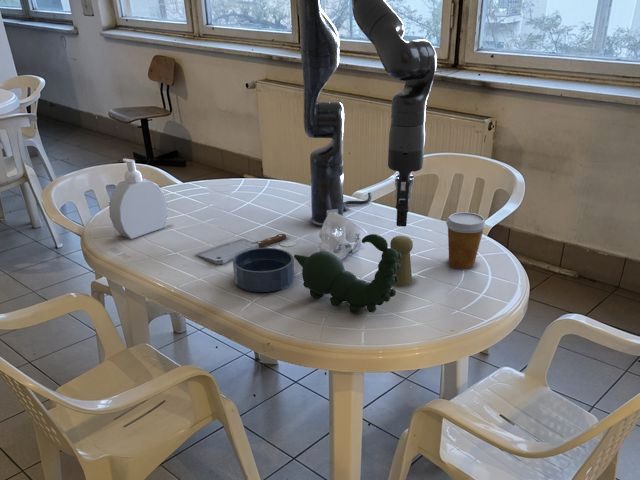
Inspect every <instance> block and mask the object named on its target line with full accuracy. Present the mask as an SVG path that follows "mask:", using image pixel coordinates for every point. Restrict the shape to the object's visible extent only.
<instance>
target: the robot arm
mask: <svg viewBox="0 0 640 480" xmlns="http://www.w3.org/2000/svg"><path fill="white" fill-rule="evenodd" d="M297 6H298V17H299V35H300V39H299V41H300V43H299V44H300V58H301V59H300V60H301V69H302V79H303V80H302V82H303V128H304V132H305V135H306V136H307V137H308V138H310V139H331V140H330V142H329V143H327V144H325V145H324V146H322V147H319V148H317V149H314V150H313V151H311V153H310V155H309V167H310V168H309V169H310V197H311V198H310V200H311V208H310V209H311V224H312V225H314V226H316V227H320V228H322V226H323V223H324V221H325V219H326V217H327V216H328V214H329V213H330V212H333V213H336V214H339V215H342V216H344V212H347V211H348V208H347V205H366V204H368V203H370V202H371V201H372V197H373V194H372V192H370V191H369V192H368V193H367V199H364V200H347V201H344V133H345V109H344V105H343V103H341V102H340V101H318V98H319V96H320V94H321V92H322V90H323V89H324V87H325V86H327V84H328V83H329V81H330V80H331V78H332V77H333V76H334V75H335V73H336V71H337V69H338V68H339V67H338V66H339V64H340V36H339V35H340V34H339V32H338V30H337V28H336V26H335V25H334V23H333V22H332V21H331V19H330V18H329V16H328V15H327V14H326V13H325V12H324V10H323V8H322V6H321V1H320V0H297ZM351 11H352V16H353V19H354V21H355V24H356V25H357V27H358V28H359V29H360V31H361V32H362V33H363V34H364V36H365V37H366V38H367V39H368V40H369V42H370V43H371V44H372V45H373V46H374V48H375V51H376V53H377V55H378V58H379V60H380V62H381V64H382V66H383V67H382V68H383V69H384V71H385V72H386V73H387V75H388V76H390V77H391V78H392V79H394V80H396V81H398V82H404V86H403V88H402V89H401V90H400V91H398V92H397V93H396V94H394V95H393V96H392V99H391V110H390V111H391V113H390V127H389V133H388V151H387V154H388V155H387V167H388V169H389V170H391V171H393V172H398V174H395V179H394V186H395V191H394V192H395V193H394V198H395V200H396V202H395V203H396V204H395V210H396V227H402V228H403V227H406V226H407V225H408V222H407V221H408V213H409V208H410V206H409V204H410V201H411V200H412V191H413V188H414V181H415V175H414V174H413V175H412V172H414V173H415V172H419V171H421V170H422V169H423V167H424V157H425V156H424V155H425V142H426V141H425V140H426V127H425V122H426V109H427V106H426V105H427V100H428V98H429V95H430V92H431V88H432V86H433V82H434V79H435V74H436V70H437V64H438V63H437V61H438V60H437V53H436V50H435V47H434V46H433V44H432V43H431V42H430V41H428V40H426V39H415V40H405V39H403V37H404V35H405V25H404V23H403V21H402V19H401V18H400V17H399V16H398V14H397V13H396V12H395V11H394V10H393V8H392V7H391V6H390V5H389V4H388V2H386V0H351Z"/></svg>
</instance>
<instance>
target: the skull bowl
mask: <svg viewBox="0 0 640 480" xmlns="http://www.w3.org/2000/svg"><path fill="white" fill-rule="evenodd" d="M367 235H369V233H368V232H367V231H366V230H365V229H364V228H363V227H361V226H360V225H358V224H357V223H355V222H354V221H353V220H351V219H350V218H348V217H346V216H344V215H343V216H342V215H339V214H336V213H333V212H330V213H329V214H328V216H327V217H326V219H325V221H324V223H323V226H322V227H321V229H320V231H319V234H318V237H319V238H320V239H321V242H320V243H319V244H318V245H317V248H318V252H320V251H327V252H330V253H333V254H334V255H336V256H337V257H338V258H339V259H340V260H341V261H342V260H344V259H345V258H346V257H347V256H348V254H349V252H352V254H355V253H357V252H358V251H360V250H361V249H362V247H363V246H364V245H365V244H366V242H365V243H362V239H363V238H364V237H365V236H367ZM338 249H339V251H338ZM334 251H338V252H334Z"/></svg>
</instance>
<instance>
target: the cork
mask: <svg viewBox="0 0 640 480" xmlns="http://www.w3.org/2000/svg"><path fill="white" fill-rule="evenodd" d="M413 247H414V244H413V240H412V238H411V237H409V236H407V235H396V236H394V237H392V239H391V240H390V246H389V248H392V249H395V250H396V251H397V252H398V253H400V254H401V258H400V259H398V261H397V262H396V263H399V264H400V268H399V269H398V270H397V271H396V272H395V274H394V275H397V276H398V277H399V280H398V281H397V282H394V283H393V284H392V286H393V287H397V288H398V287H408V286H410V285H411V284H412V283H413V273H412V259H411V251H412V250H413Z"/></svg>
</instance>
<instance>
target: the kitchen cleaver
mask: <svg viewBox="0 0 640 480" xmlns="http://www.w3.org/2000/svg"><path fill="white" fill-rule="evenodd" d="M286 239H287V234H285V233H277V234H276V235H275V236H271V237H267V238H265V239H262V240H258V241H249V240H245V239H240V240H236V241H233V242H230V243H226V244H224V245H219V246H218V247H214V248H212V249H209V250H207V251H203V252H200V253H198V254H196V256H197V257H200V258H202V259H204V260H206V261H209V262H211V263H213V264H215V265H224V264H225V263H227V262H229V261H230V260H233V259H234V257H235V256H236V255H238V254H239V253H241V252H244V251H247V250H251V249H256V248H264V247H266V246H269V245H272V244H274V243H278V242H280V241H283V240H286Z"/></svg>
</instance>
